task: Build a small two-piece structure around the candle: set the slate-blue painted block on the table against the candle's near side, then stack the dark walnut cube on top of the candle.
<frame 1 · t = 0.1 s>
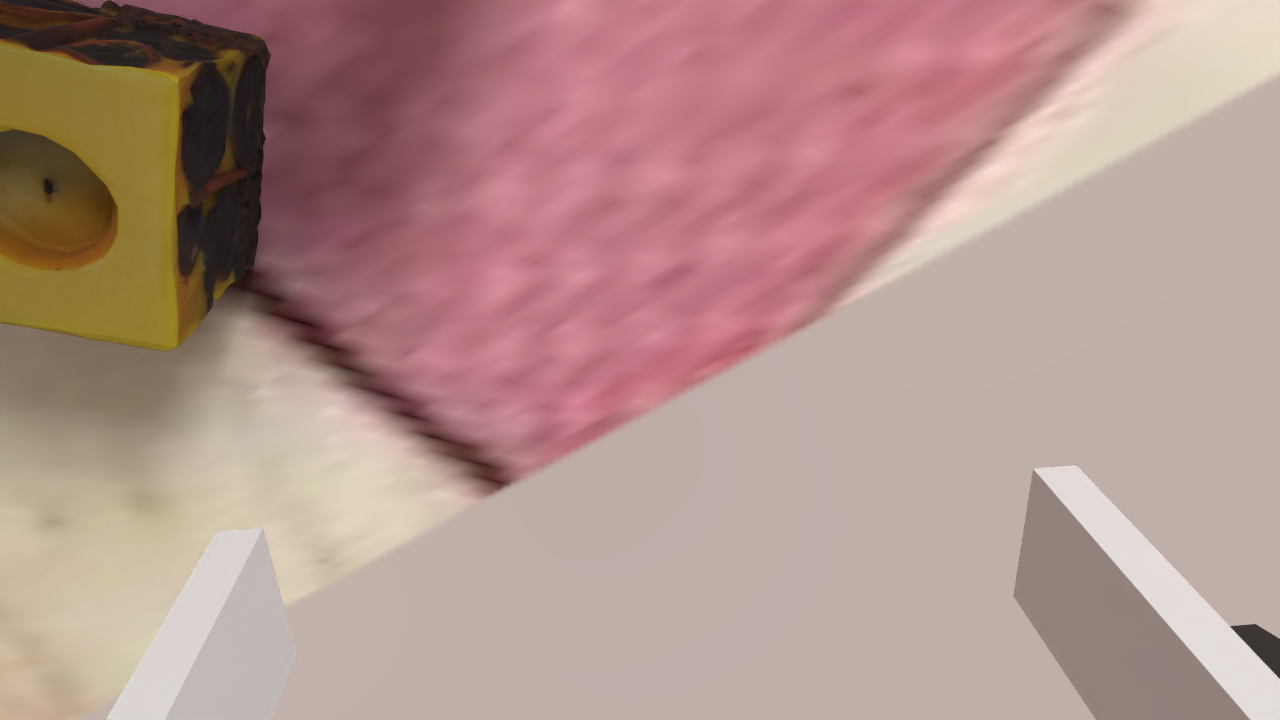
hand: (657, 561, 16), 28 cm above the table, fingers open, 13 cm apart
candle: (146, 130, 40), on the table
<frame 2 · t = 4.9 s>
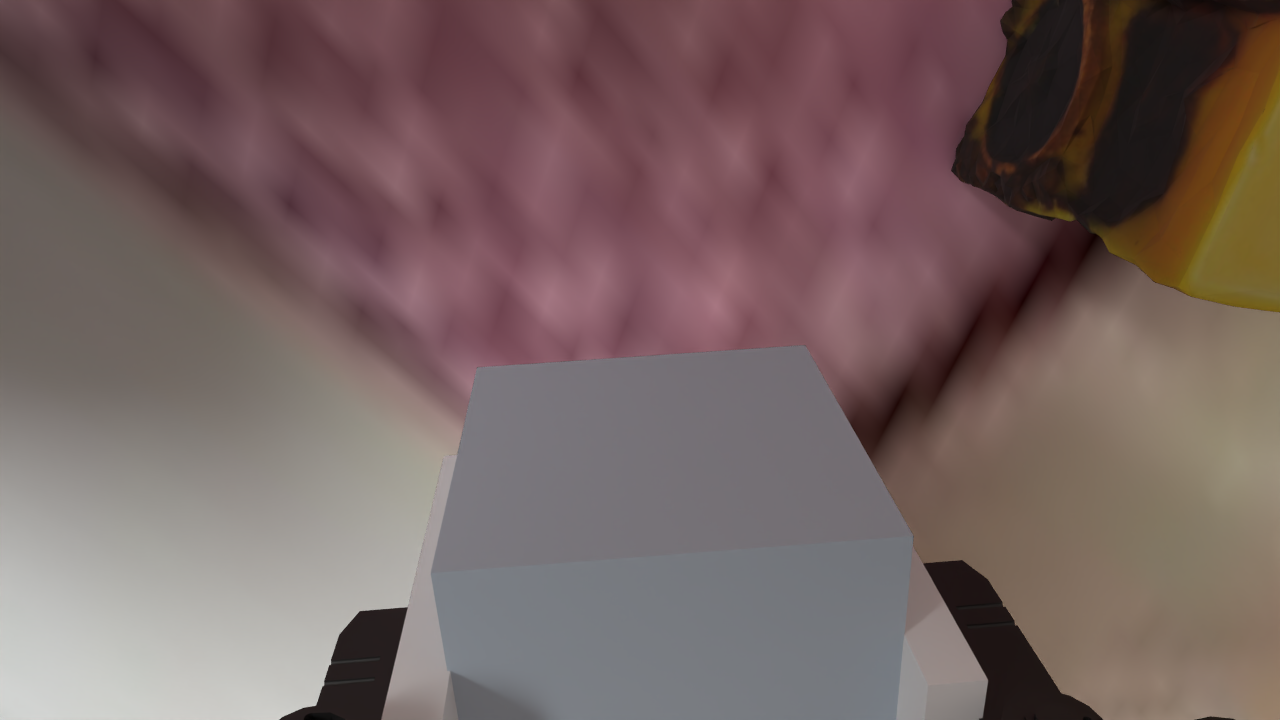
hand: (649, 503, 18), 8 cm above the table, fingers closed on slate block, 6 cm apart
slate block: (649, 495, 18), point 8 cm above the table, touching gripper
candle: (1198, 16, 23), on the table
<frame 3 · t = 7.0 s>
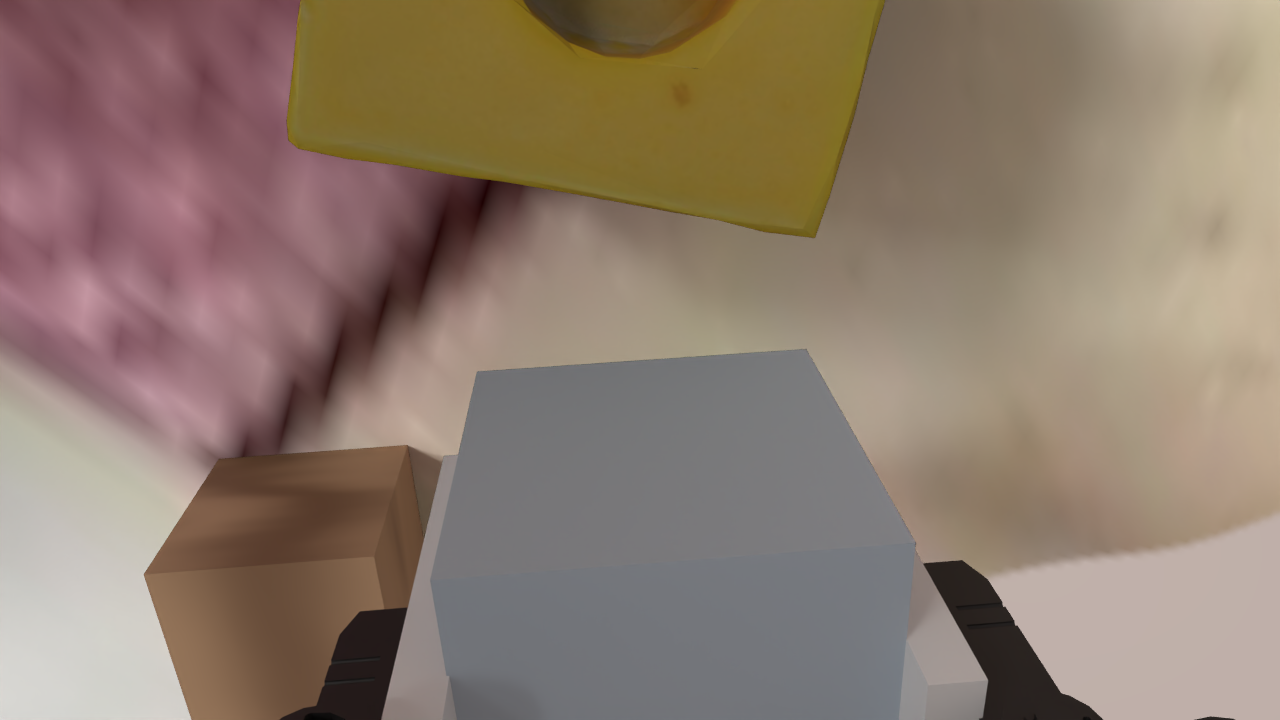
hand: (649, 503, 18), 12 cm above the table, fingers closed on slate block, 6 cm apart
walnut cube: (331, 527, 31), on the table
slate block: (649, 500, 18), point 11 cm above the table, touching gripper
when the fingers open (1 cm above the table, at t = 9.1 s): slate block stays where it is, on the table.
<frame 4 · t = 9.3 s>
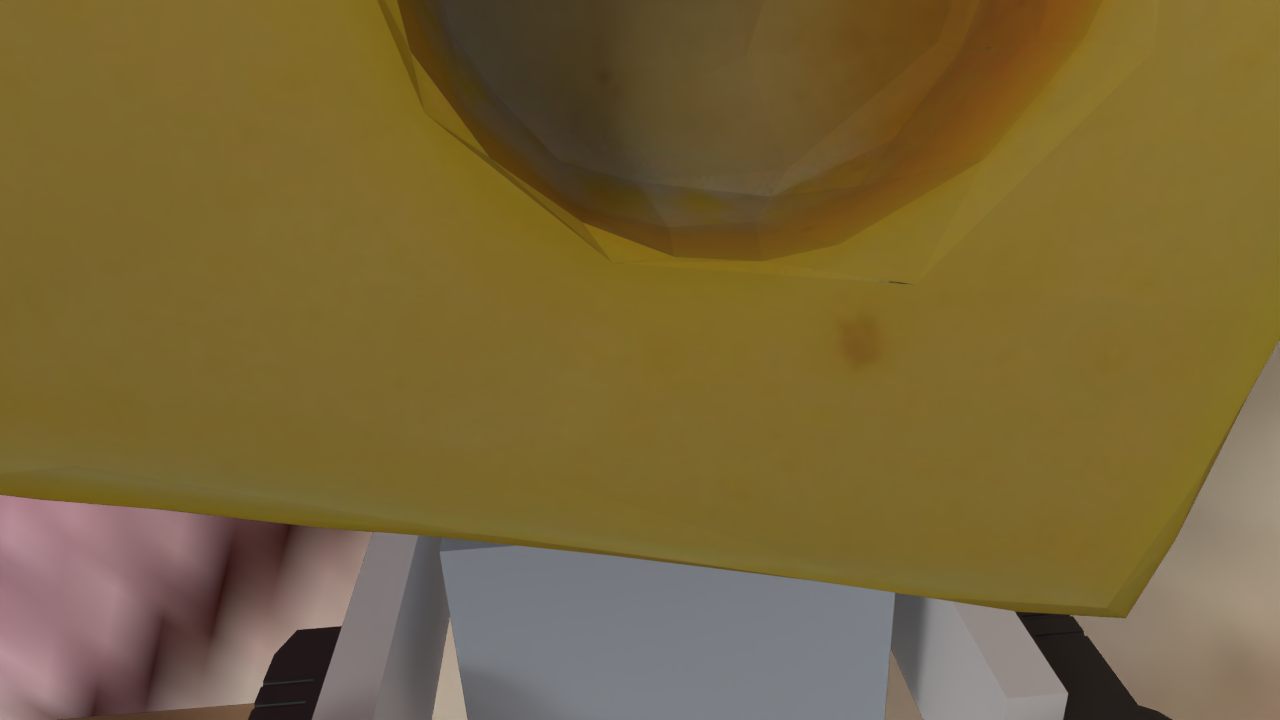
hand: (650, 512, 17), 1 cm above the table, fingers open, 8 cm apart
slate block: (647, 481, 19), on the table
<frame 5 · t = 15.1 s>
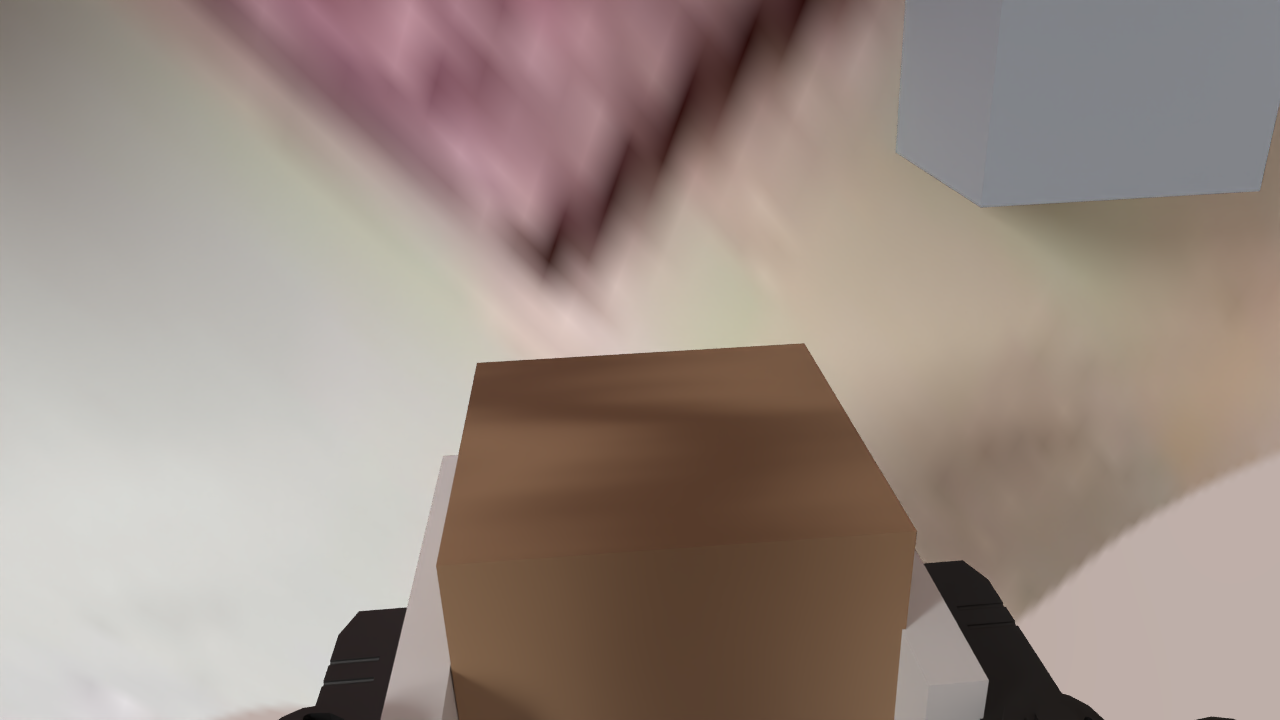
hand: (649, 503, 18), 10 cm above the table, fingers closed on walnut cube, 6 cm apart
walnut cube: (646, 492, 18), point 9 cm above the table, touching gripper
slate block: (1017, 28, 24), on the table
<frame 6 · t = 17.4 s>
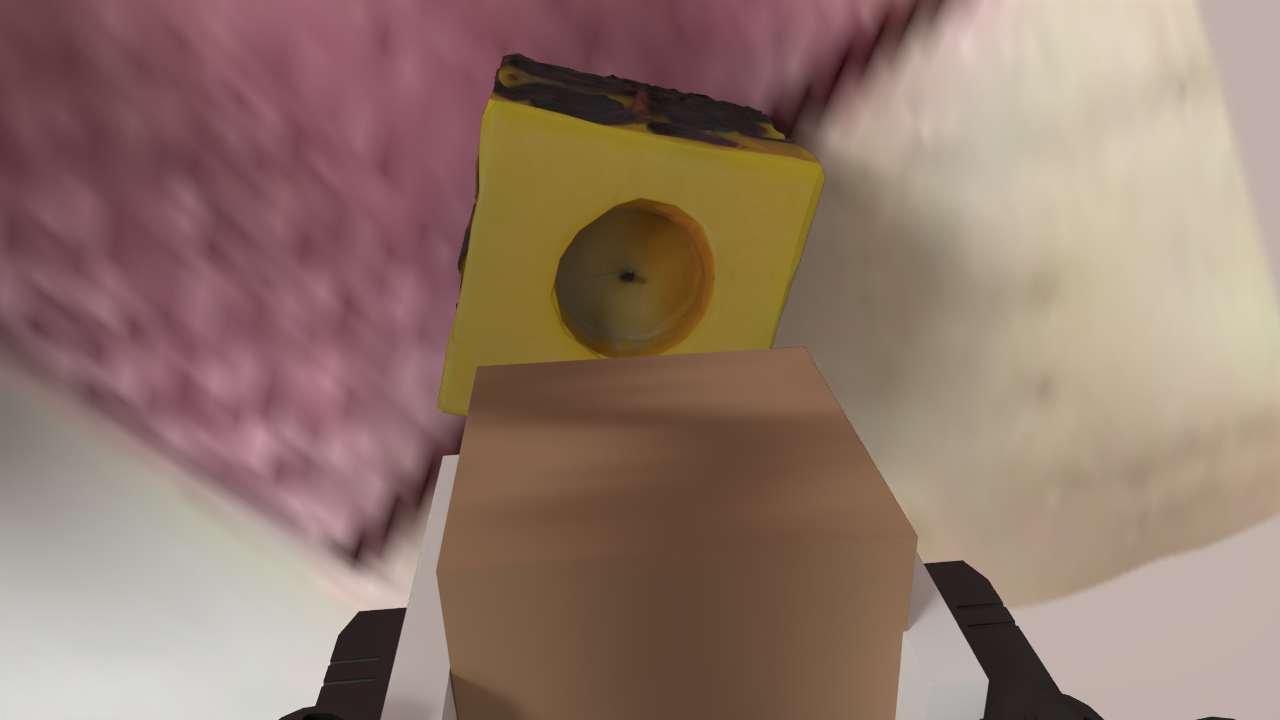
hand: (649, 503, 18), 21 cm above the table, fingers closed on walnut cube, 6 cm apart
walnut cube: (647, 496, 18), point 20 cm above the table, touching gripper
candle: (607, 205, 37), on the table
when the fingers open (10 cm above the table, at t = 20.0 s): walnut cube stays where it is, resting on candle.
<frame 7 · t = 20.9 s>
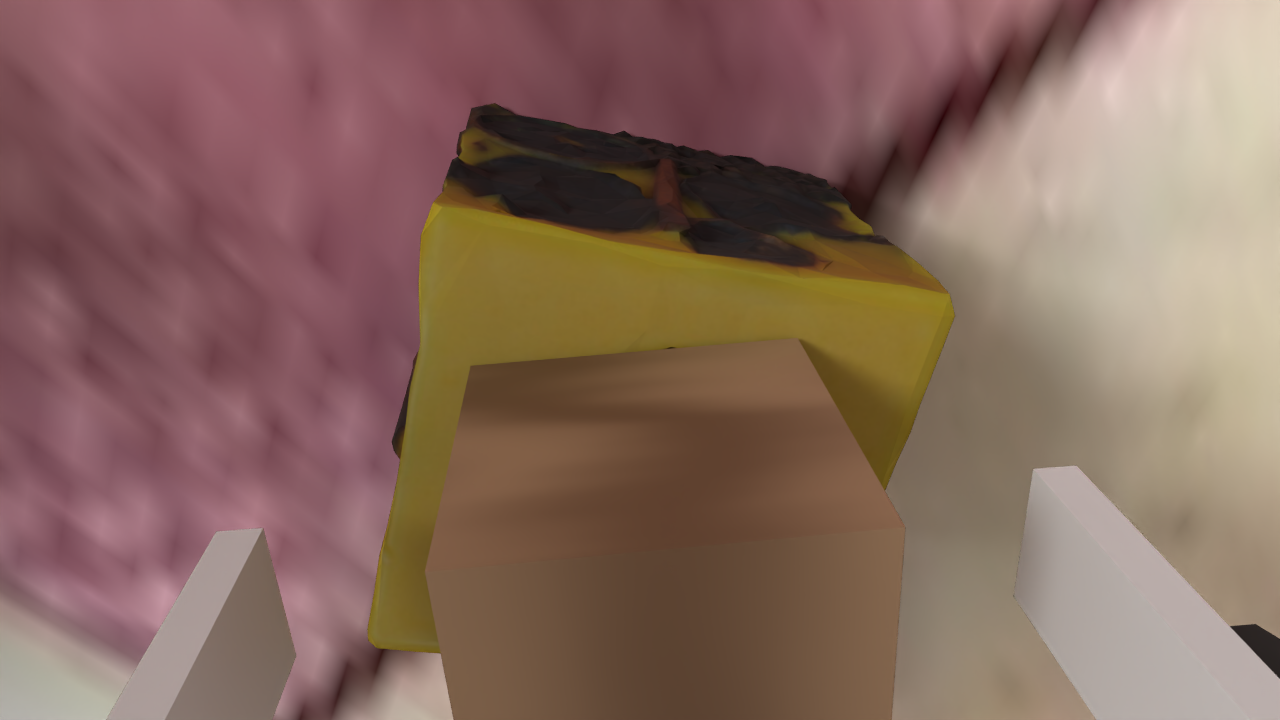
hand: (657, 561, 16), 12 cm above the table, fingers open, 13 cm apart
walnut cube: (644, 490, 18), point 10 cm above the table, touching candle
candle: (615, 301, 27), on the table, touching walnut cube
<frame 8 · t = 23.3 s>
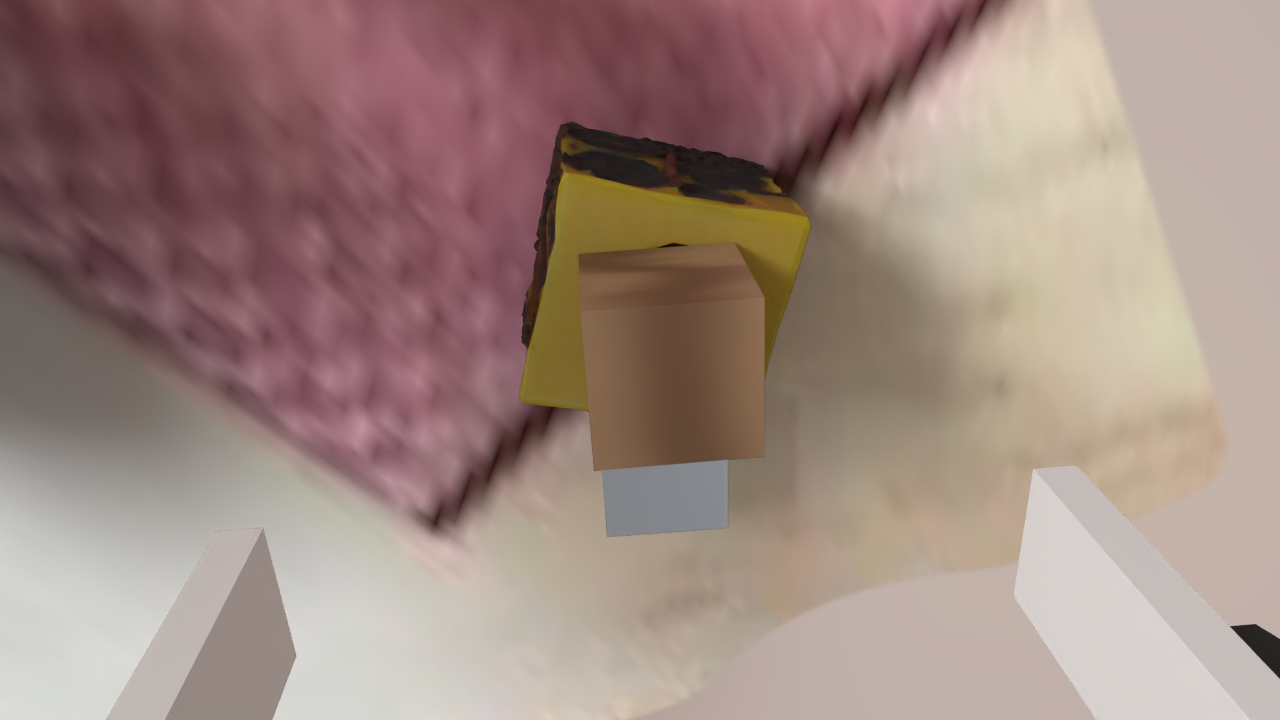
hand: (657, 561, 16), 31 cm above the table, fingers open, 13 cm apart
walnut cube: (660, 320, 37), point 10 cm above the table, touching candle
slate block: (655, 421, 50), on the table
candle: (640, 238, 46), on the table, touching walnut cube
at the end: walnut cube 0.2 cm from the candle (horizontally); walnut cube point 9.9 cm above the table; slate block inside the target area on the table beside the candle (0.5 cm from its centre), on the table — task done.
